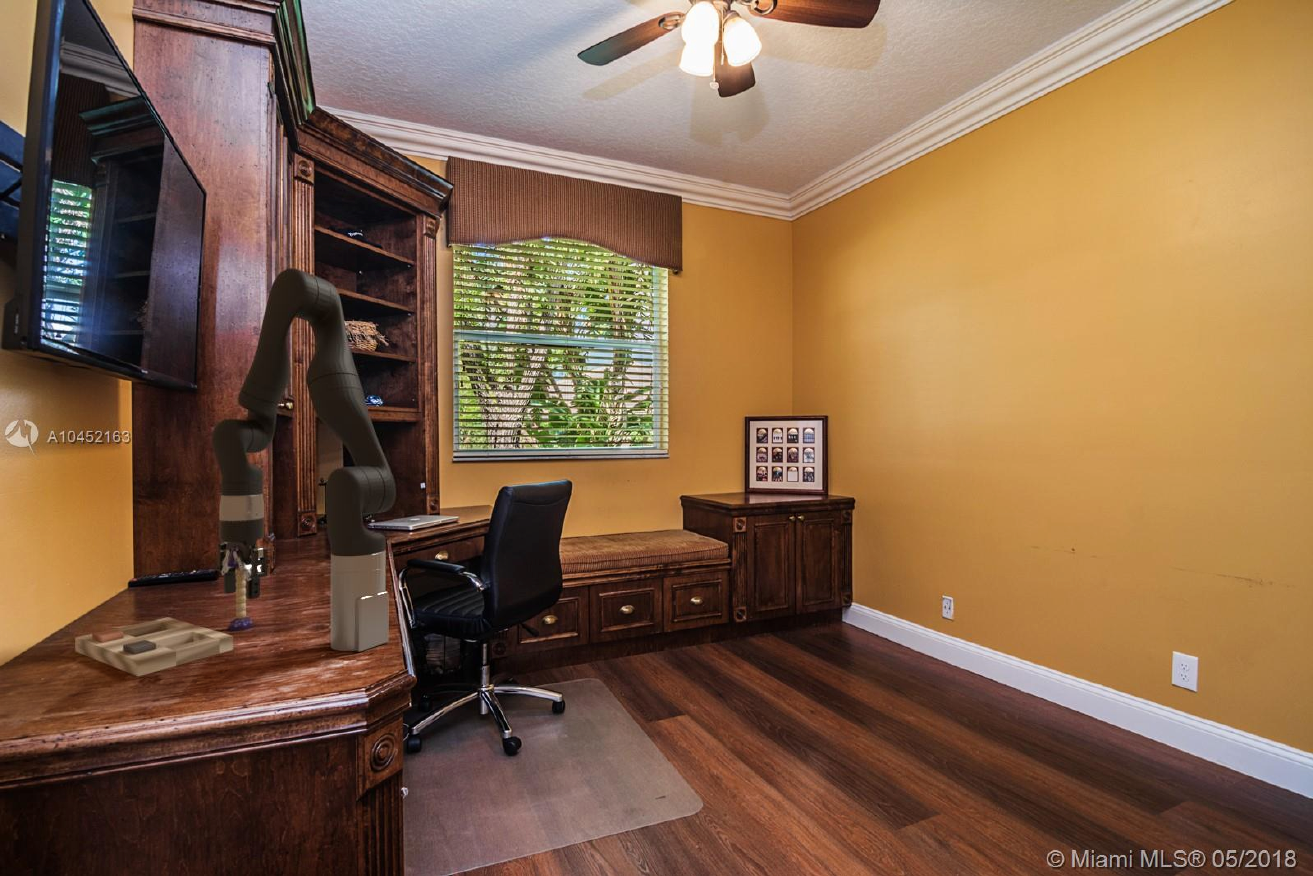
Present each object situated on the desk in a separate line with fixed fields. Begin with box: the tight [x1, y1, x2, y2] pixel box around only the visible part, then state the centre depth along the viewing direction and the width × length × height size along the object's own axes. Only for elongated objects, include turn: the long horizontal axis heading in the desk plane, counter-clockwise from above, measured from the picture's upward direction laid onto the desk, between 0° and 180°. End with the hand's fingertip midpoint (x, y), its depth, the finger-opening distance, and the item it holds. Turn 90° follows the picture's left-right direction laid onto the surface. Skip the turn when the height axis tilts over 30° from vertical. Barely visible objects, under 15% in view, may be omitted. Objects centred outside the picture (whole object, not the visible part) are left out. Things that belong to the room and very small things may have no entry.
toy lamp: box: [227, 546, 254, 631], centre depth 122 cm, size 5×5×17 cm
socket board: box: [74, 616, 234, 677], centre depth 108 cm, size 24×14×4 cm, turn 62°
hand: (241, 595), depth 122 cm, fingers open, 8 cm apart
